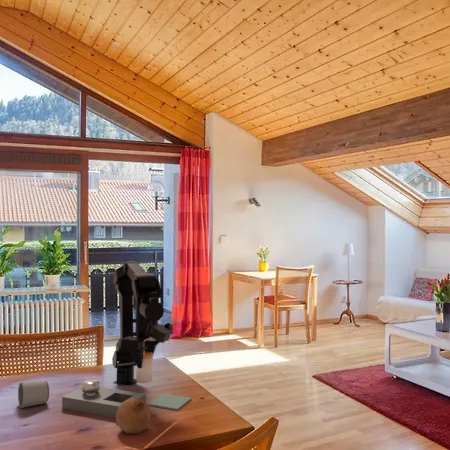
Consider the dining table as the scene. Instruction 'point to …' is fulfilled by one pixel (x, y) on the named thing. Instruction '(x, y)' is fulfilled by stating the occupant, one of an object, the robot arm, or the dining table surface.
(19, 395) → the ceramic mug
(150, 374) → the small lidded jar
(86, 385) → the plunger
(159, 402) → the mat
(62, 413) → the dining table surface
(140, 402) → the onion
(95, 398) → the housing
